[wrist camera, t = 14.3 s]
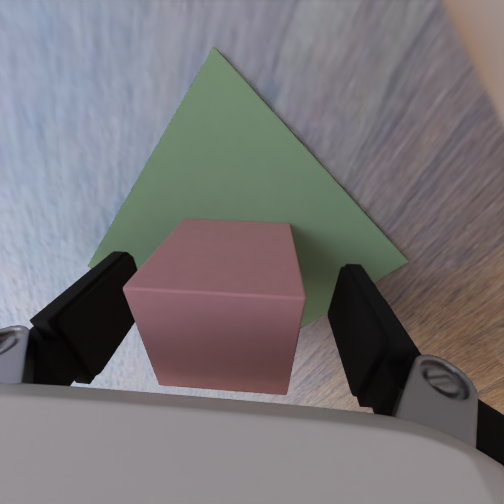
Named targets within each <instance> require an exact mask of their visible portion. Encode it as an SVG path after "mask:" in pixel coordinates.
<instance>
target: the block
mask: <svg viewBox="0 0 504 504" xmlns="http://www.w3.org/2000/svg"><path fill="white" fill-rule="evenodd" d="M123 291H124V294H125V296H126V299H127V302H128V304H129V307H130V309H131V312H132V315H133V317H134V320H135V323H136V325H137V328H138V330H139V333H140V336H141V338H142V341H143V344H144V346H145V349H146V351H147V354H148V357H149V359H150V362H151V365H152V367H153V370H154V372H155V375H156V378H157V380H158V383H159V385H164V386H177V387H189V388H202V389H215V390H228V391H240V392H253V393H266V394H278V395H286V394H287V391H288V386H289V381H290V376H291V371H292V366H293V361H294V356H295V351H296V347H297V342H298V337H299V332H300V327H301V322H302V317H303V312H304V307H305V302H306V296H305V291H304V287H303V282H302V277H301V273H300V268H299V264H298V259H297V254H296V250H295V245H294V241H293V236H292V231H291V227H290V224H289V223H275V222H252V221H229V220H207V219H183V220H182V221H181V222H180V223H179V224H178V225H177V226H176V228H175V229H174V230H173V231H172V232H171V233H170V234H169V236H168V237H167V238H166V239H165V240H164V241H163V242H162V244H161V245H160V246H159V247H158V248H157V249H156V250H155V251H154V253H153V254H152V255H151V256H150V257H149V258H148V259H147V261H146V262H145V263H144V264H143V265H142V266H141V267H140V268H139V270H138V271H137V272H136V273H135V274H134V275H133V276H132V278H131V279H130V280H129V281H128V282H127V283H126V284H125V286H124V287H123Z"/></svg>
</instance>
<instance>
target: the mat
mask: <svg viewBox="0 0 504 504" xmlns="http://www.w3.org/2000/svg"><path fill="white" fill-rule="evenodd" d="M183 219H207V220H229V221H252V222H275V223H289V224H290V227H291V231H292V236H293V241H294V245H295V250H296V254H297V259H298V264H299V268H300V273H301V277H302V282H303V287H304V291H305V296H306V302H305V307H304V312H303V317H302V322H301V327H300V328H302V327H304V326H305V325H307V324H309V323H310V322H312V321H313V320H315V319H317V318H318V317H320V316H322V315H323V314H325V313H326V312H328V310H329V306H330V303H331V299H332V296H333V292H334V289H335V285H336V282H337V278H338V275H339V271H340V268H341V267H345V265H346V264H361V265H362V266H363V268H364V269H365V271H366V272H367V274H368V275H369V277H370V278H371V280H372V281H373V283H375V282H377V281H378V280H380V279H382V278H383V277H385V276H386V275H388V274H390V273H391V272H393V271H395V270H396V269H398V268H399V267H401V266H403V265H404V264H406V263H408V260H407V259H406V258H405V257H404V256H403V255H402V254H401V253H400V252H399V251H398V249H397V248H396V247H395V246H394V245H393V244H392V243H391V242H390V241H389V239H388V238H387V237H386V236H385V235H384V234H383V233H382V232H381V231H380V229H379V228H378V227H377V226H376V225H375V224H374V223H373V222H372V221H371V220H370V218H369V217H368V216H367V215H366V214H365V213H364V212H363V211H362V210H361V208H360V207H359V206H358V205H357V204H356V203H355V202H354V201H353V200H352V198H351V197H350V196H349V195H348V194H347V193H346V192H345V191H344V190H343V189H342V187H341V186H340V185H339V184H338V183H337V182H336V181H335V180H334V179H333V177H332V176H331V175H330V174H329V173H328V172H327V171H326V170H325V169H324V167H323V166H322V165H321V164H320V163H319V162H318V161H317V160H316V159H315V158H314V156H313V155H312V154H311V153H310V152H309V151H308V150H307V149H306V148H305V146H304V145H303V144H302V143H301V142H300V141H299V140H298V139H297V138H296V136H295V135H294V134H293V133H292V132H291V131H290V130H289V129H288V128H287V127H286V125H285V124H284V123H283V122H282V121H281V120H280V119H279V118H278V117H277V115H276V114H275V113H274V112H273V111H272V110H271V109H270V108H269V107H268V105H267V104H266V103H265V102H264V101H263V100H262V99H261V98H260V97H259V96H258V94H257V93H256V92H255V91H254V90H253V89H252V88H251V87H250V86H249V84H248V83H247V82H246V81H245V80H244V79H243V78H242V77H241V76H240V74H239V73H238V72H237V71H236V70H235V69H234V68H233V67H232V66H231V65H230V63H229V62H228V61H227V60H226V59H225V58H224V57H223V56H222V55H221V53H220V52H219V51H218V50H217V49H216V48H215V47H213V49H212V50H211V52H210V54H209V55H208V57H207V59H206V61H205V62H204V64H203V66H202V68H201V69H200V71H199V73H198V75H197V76H196V78H195V80H194V82H193V83H192V85H191V87H190V89H189V90H188V92H187V94H186V95H185V97H184V99H183V101H182V102H181V104H180V106H179V108H178V109H177V111H176V113H175V115H174V116H173V118H172V120H171V122H170V123H169V125H168V127H167V129H166V130H165V132H164V134H163V135H162V137H161V139H160V141H159V142H158V144H157V146H156V148H155V149H154V151H153V153H152V155H151V156H150V158H149V160H148V162H147V163H146V165H145V167H144V169H143V170H142V172H141V174H140V175H139V177H138V179H137V181H136V182H135V184H134V186H133V188H132V189H131V191H130V193H129V195H128V196H127V198H126V200H125V202H124V203H123V205H122V207H121V209H120V210H119V212H118V214H117V215H116V217H115V219H114V221H113V222H112V224H111V226H110V228H109V229H108V231H107V233H106V235H105V236H104V238H103V240H102V242H101V243H100V245H99V247H98V249H97V250H96V252H95V254H94V255H93V257H92V259H91V261H90V262H89V264H88V267H90V268H93V267H95V266H96V265H97V264H98V263H99V262H101V261H102V260H103V259H104V258H105V257H107V256H108V255H109V254H110V253H112V252H113V251H121V252H128V253H129V254H130V255H132V256H133V257H134V260H135V263H136V266H137V270H139V268H140V267H141V266H142V265H143V264H144V263H145V262H146V261H147V259H148V258H149V257H150V256H151V255H152V254H153V253H154V251H155V250H156V249H157V248H158V247H159V246H160V245H161V244H162V242H163V241H164V240H165V239H166V238H167V237H168V236H169V234H170V233H171V232H172V231H173V230H174V229H175V228H176V226H177V225H178V224H179V223H180V222H181V221H182V220H183Z"/></svg>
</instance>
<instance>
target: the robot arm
mask: <svg viewBox="0 0 504 504" xmlns="http://www.w3.org/2000/svg"><path fill="white" fill-rule="evenodd" d="M137 271H138V270H137V266H136V263H135V260H134V257H133V256H132V255H130V254H129V253H128V252H121V251H113V252H112V253H110V254H109V255H108V256H107V257H105V258H104V259H103V260H102V261H101V262H99V263H98V264H97V265H96V266H95V267H93V268H92V269H91V270H90V271H89V272H87V273H86V274H85V275H84V276H82V277H81V278H80V279H79V280H78V281H76V282H75V283H74V284H73V285H72V286H70V287H69V288H68V289H67V290H65V291H64V292H63V293H62V294H61V295H59V296H58V297H57V298H56V299H55V300H53V301H52V302H51V303H50V304H49V305H47V306H46V307H45V308H44V309H42V310H41V311H40V312H39V313H38V314H36V315H35V316H34V317H33V318H32V319H30V321H31V323H32V324H33V325H34V326H33V327H32V328H31V329H30V330H29V329H28V328H27V327H25V326H20V325H17V326H10V327H6V328H2V329H0V504H504V415H503V414H501V413H500V412H498V411H497V410H495V409H493V408H492V407H490V406H489V405H487V404H485V403H484V402H482V401H481V400H479V399H478V395H477V390H476V388H475V386H474V385H473V383H472V381H471V380H470V379H469V378H468V377H467V376H466V374H465V373H463V372H462V371H461V370H460V369H459V368H457V367H456V366H455V365H453V364H452V363H450V362H448V361H447V360H444V359H442V358H440V357H437V356H433V355H421V353H420V352H419V350H418V349H417V347H416V346H415V344H414V343H413V341H412V339H411V338H410V336H409V335H408V333H407V332H406V330H405V329H404V327H403V326H402V324H401V323H400V321H399V320H398V318H397V317H396V315H395V314H394V312H393V311H392V309H391V308H390V306H389V305H388V303H387V302H386V300H385V299H384V298H383V297H382V295H381V294H380V292H379V291H378V289H377V288H376V286H375V284H374V283H373V281H372V280H371V278H370V277H369V275H368V274H367V272H366V271H365V269H364V268H363V266H362V265H361V264H346V265H345V267H341V268H340V271H339V275H338V278H337V282H336V285H335V289H334V292H333V296H332V299H331V303H330V306H329V310H328V318H329V322H330V325H331V328H332V331H333V335H334V338H335V341H336V345H337V348H338V351H339V354H340V358H341V361H342V364H343V367H344V371H345V374H346V377H347V380H348V384H349V387H350V390H351V393H352V395H353V396H357V399H358V402H359V405H360V407H372V409H373V412H374V414H372V413H366V412H356V411H347V410H338V409H329V408H319V407H310V406H298V405H287V404H276V403H265V402H254V401H243V400H231V399H220V398H208V397H196V396H184V395H172V394H160V393H148V392H136V391H123V390H111V389H98V388H85V387H72V386H70V385H71V384H72V383H73V381H74V380H75V382H76V383H84V384H90V383H91V382H92V380H93V379H94V378H95V376H96V375H98V374H100V373H101V372H102V370H103V369H104V367H105V366H106V364H107V363H108V361H109V360H110V358H111V357H112V355H113V354H114V352H115V351H116V349H117V348H118V346H119V345H120V344H121V342H122V341H123V339H124V338H125V336H126V335H127V333H128V332H129V330H130V329H131V327H132V326H133V324H134V323H135V320H134V317H133V315H132V312H131V309H130V307H129V304H128V302H127V299H126V296H125V294H124V291H123V287H124V286H125V284H126V283H127V282H128V281H129V280H130V279H131V278H132V276H133V275H134V274H135V273H136V272H137Z"/></svg>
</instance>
